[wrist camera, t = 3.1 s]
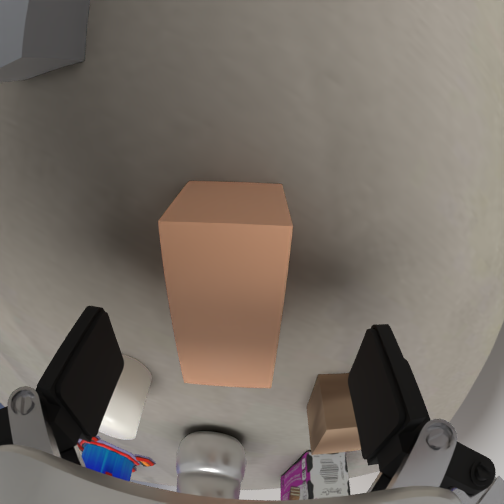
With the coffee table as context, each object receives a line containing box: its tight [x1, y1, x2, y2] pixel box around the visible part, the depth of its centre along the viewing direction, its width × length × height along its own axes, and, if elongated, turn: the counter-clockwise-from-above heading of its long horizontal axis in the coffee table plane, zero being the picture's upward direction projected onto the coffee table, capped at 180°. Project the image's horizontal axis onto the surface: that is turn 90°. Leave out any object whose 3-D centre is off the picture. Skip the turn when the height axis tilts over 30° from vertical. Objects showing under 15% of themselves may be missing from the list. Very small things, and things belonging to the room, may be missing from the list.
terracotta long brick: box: [158, 181, 293, 388], centre depth 12 cm, size 8×4×4 cm, turn 178°
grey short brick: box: [0, 0, 90, 83], centre depth 6 cm, size 6×4×4 cm, turn 178°
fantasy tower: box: [77, 436, 156, 481], centre depth 25 cm, size 12×12×12 cm
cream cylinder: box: [99, 354, 152, 440], centre depth 17 cm, size 4×4×5 cm
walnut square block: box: [307, 373, 361, 455], centre depth 18 cm, size 4×4×4 cm
